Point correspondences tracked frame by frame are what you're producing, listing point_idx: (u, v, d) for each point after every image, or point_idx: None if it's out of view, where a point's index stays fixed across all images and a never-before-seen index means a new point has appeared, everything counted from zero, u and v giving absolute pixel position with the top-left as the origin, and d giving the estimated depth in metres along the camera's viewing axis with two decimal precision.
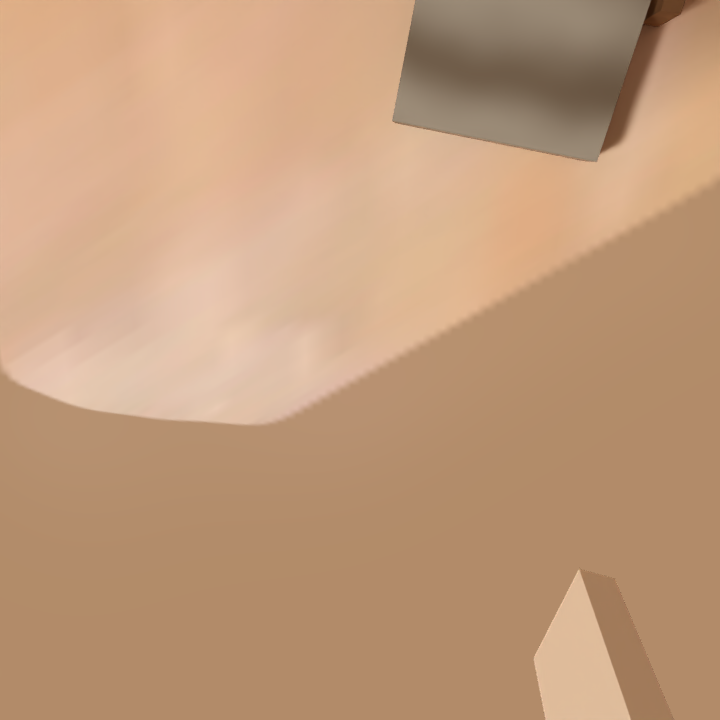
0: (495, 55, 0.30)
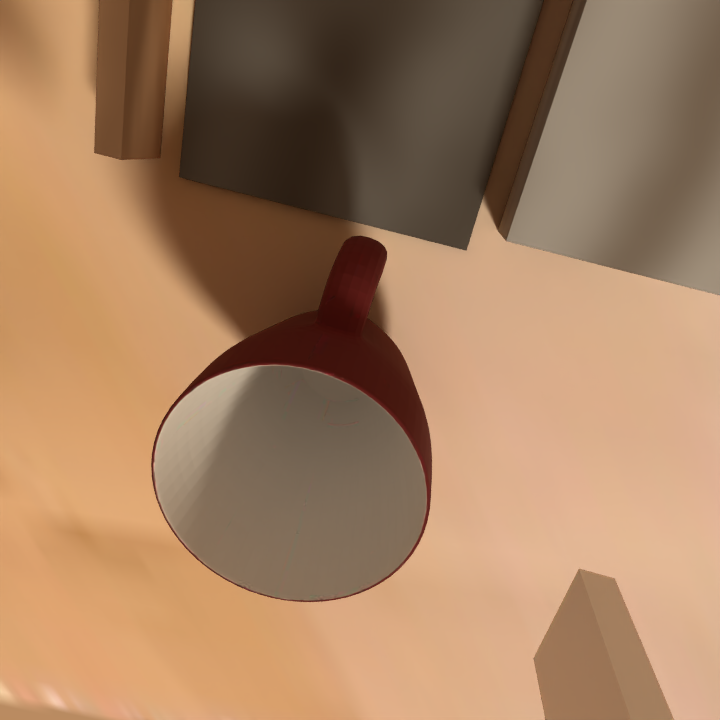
0: (672, 118, 0.17)
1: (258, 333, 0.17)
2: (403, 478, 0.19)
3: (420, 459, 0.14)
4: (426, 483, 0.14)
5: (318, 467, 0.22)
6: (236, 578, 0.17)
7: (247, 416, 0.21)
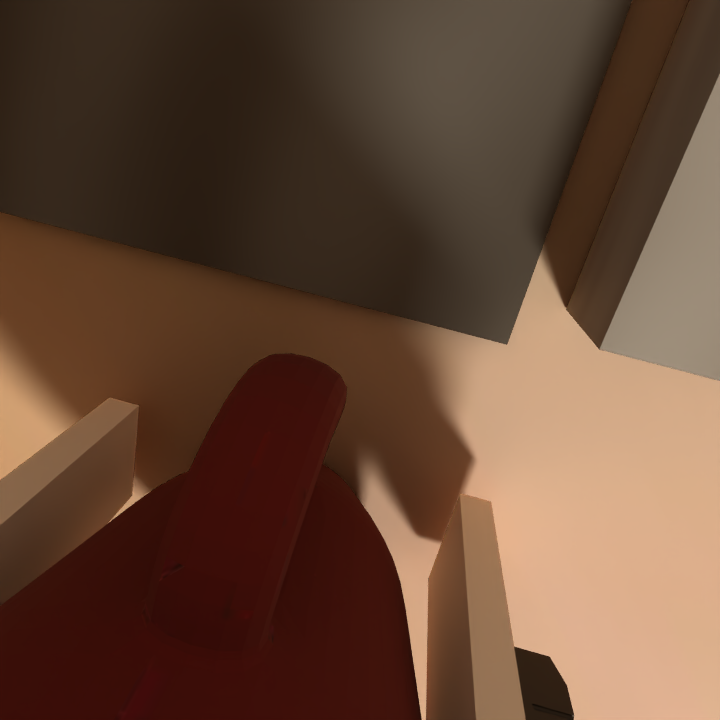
0: None
1: (19, 612, 0.07)
2: None
3: None
4: None
5: None
6: None
7: None
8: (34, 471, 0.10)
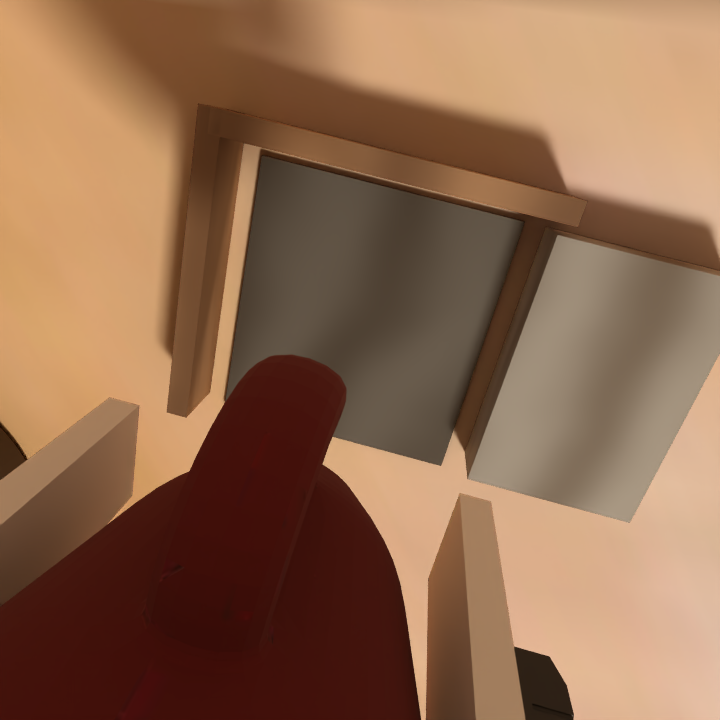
0: (582, 411, 0.24)
1: (19, 613, 0.07)
2: None
3: None
4: None
5: None
6: None
7: None
8: (34, 471, 0.10)
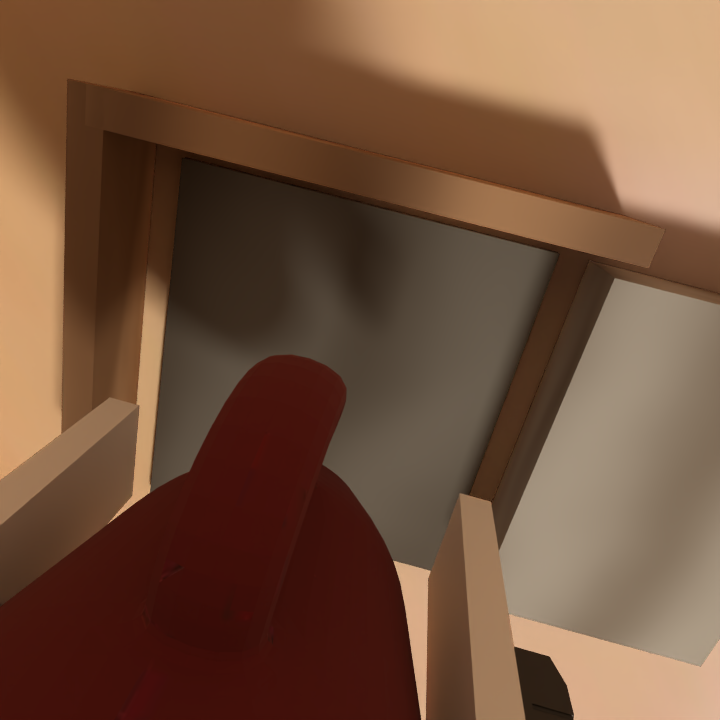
0: (640, 523, 0.17)
1: (19, 613, 0.07)
2: None
3: None
4: None
5: None
6: None
7: None
8: (34, 471, 0.10)
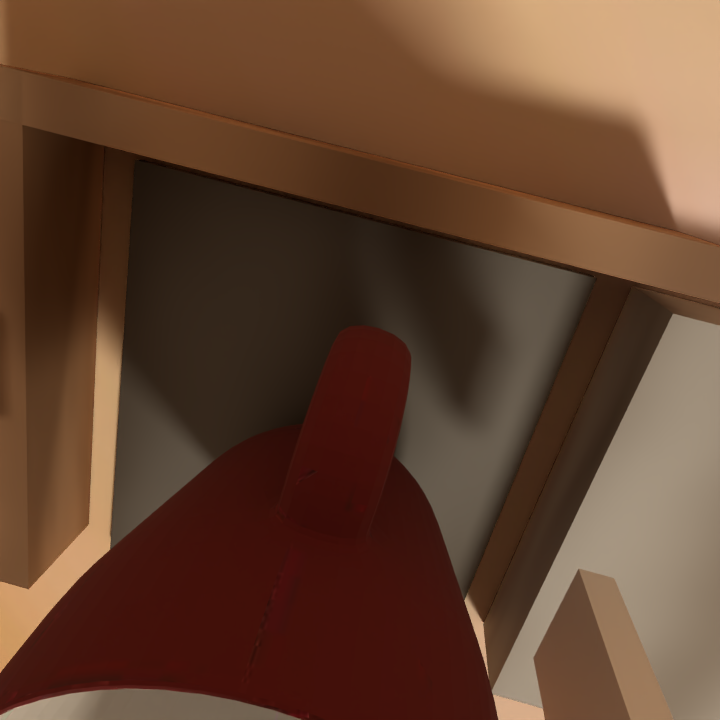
0: (694, 607, 0.14)
1: (168, 522, 0.09)
2: None
3: None
4: None
5: None
6: None
7: None
8: None
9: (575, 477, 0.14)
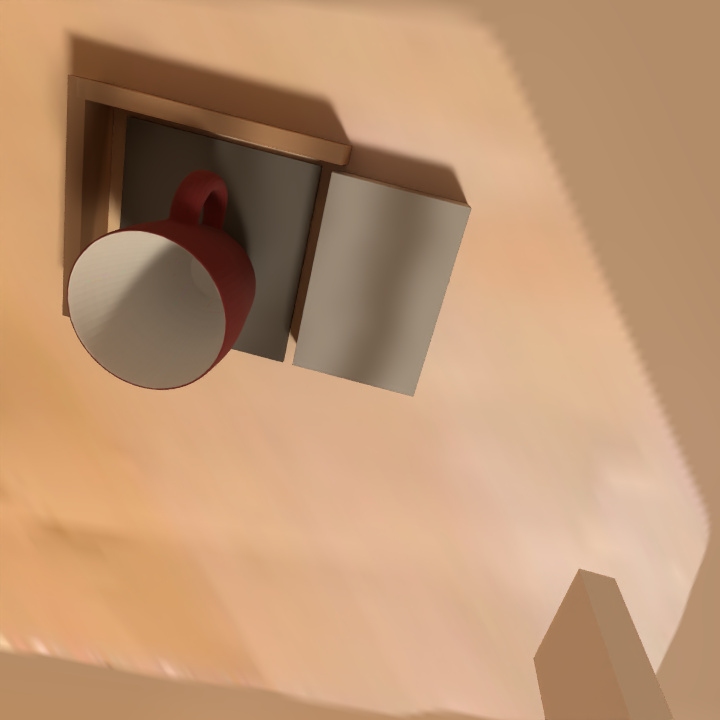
0: (367, 307, 0.33)
1: None
2: None
3: (218, 288, 0.25)
4: (222, 303, 0.25)
5: (195, 334, 0.32)
6: (122, 376, 0.27)
7: (145, 296, 0.32)
8: None
9: None
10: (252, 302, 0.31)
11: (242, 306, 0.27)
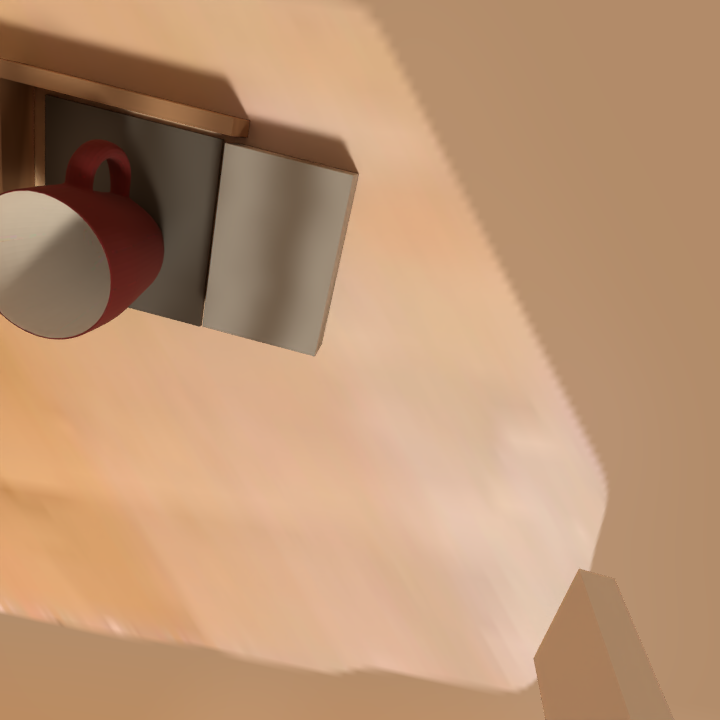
0: (266, 271, 0.35)
1: None
2: None
3: (101, 243, 0.27)
4: (106, 257, 0.28)
5: (108, 296, 0.35)
6: (24, 327, 0.30)
7: (60, 260, 0.34)
8: None
9: None
10: (157, 265, 0.34)
11: (134, 263, 0.30)
